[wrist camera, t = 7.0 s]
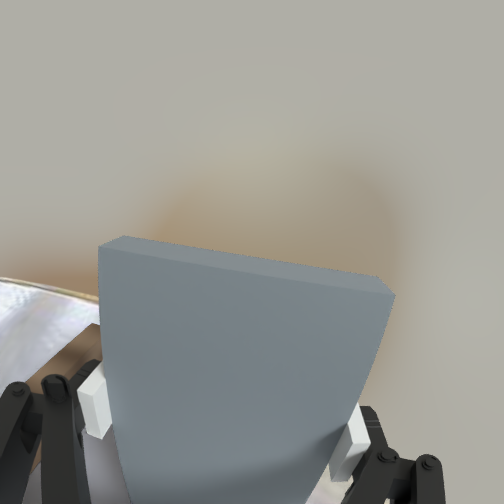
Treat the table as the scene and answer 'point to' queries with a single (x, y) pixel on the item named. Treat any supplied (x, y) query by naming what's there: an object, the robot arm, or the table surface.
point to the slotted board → (68, 363)
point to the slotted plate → (230, 369)
